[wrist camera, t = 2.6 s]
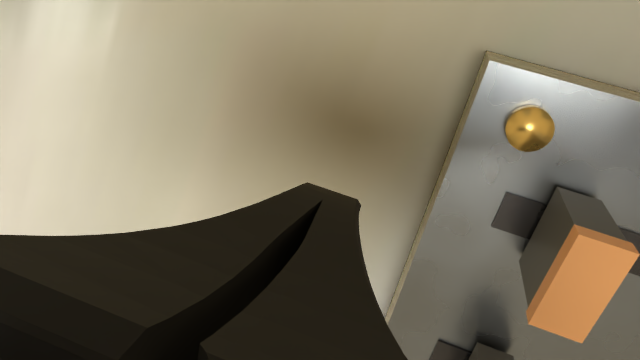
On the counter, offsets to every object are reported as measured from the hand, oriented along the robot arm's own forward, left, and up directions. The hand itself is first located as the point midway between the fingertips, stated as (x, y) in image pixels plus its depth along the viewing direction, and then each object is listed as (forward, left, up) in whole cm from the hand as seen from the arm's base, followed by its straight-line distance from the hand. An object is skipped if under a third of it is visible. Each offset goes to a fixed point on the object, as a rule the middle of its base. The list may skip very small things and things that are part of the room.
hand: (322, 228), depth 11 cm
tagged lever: (-6, 0, -4) cm, 7 cm away
